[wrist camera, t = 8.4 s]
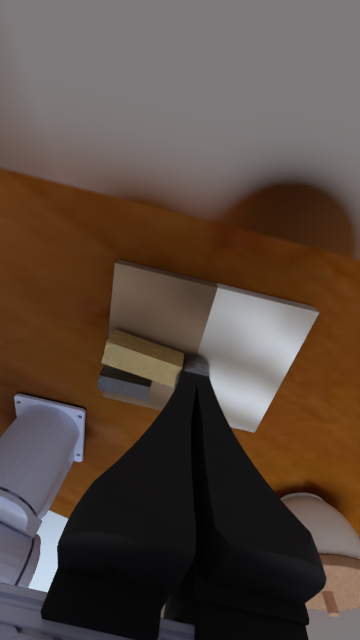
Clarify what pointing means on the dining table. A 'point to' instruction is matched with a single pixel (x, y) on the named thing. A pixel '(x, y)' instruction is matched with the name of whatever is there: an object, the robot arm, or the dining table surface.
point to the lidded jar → (330, 552)
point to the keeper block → (124, 383)
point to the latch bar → (151, 359)
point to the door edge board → (212, 335)
